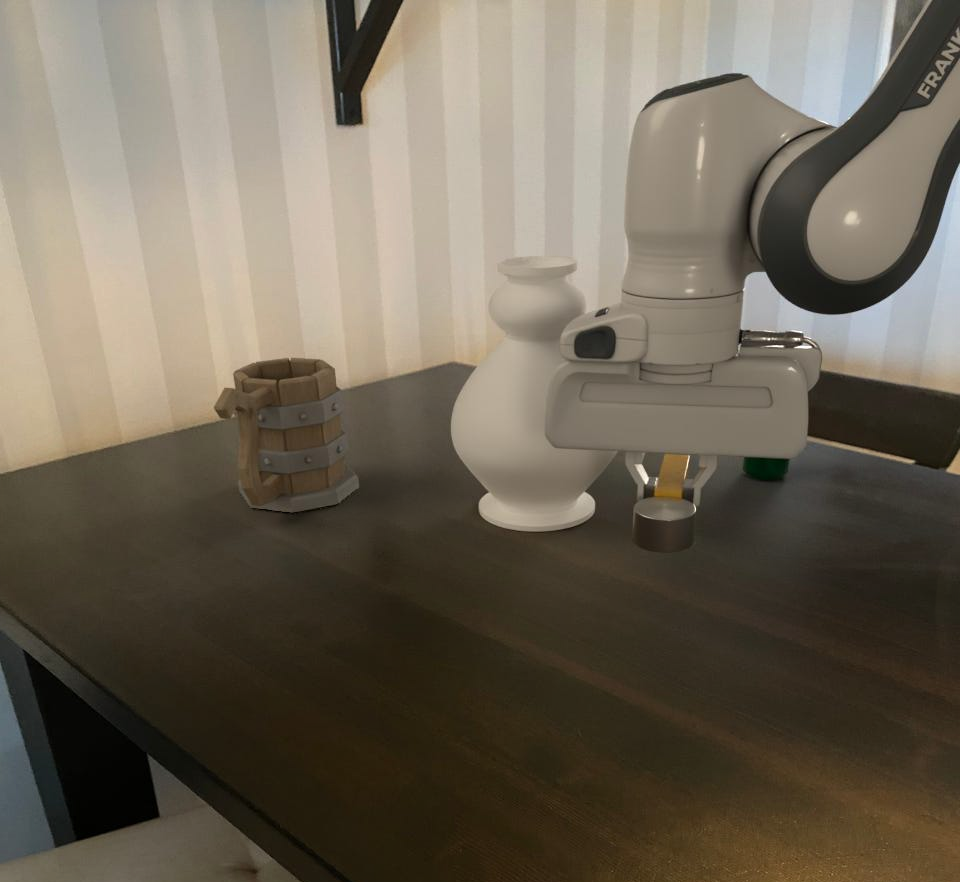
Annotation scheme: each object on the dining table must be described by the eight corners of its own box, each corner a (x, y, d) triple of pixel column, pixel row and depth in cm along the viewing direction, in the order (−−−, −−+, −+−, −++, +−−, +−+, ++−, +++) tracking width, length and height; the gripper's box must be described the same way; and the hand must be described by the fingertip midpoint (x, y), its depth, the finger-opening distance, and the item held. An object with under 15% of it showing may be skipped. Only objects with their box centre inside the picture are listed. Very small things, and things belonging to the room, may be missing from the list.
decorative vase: (640, 491, 104) (654, 251, 92) (587, 553, 90) (596, 281, 78) (495, 471, 111) (490, 246, 98) (425, 527, 97) (410, 272, 85)
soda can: (741, 480, 106) (754, 375, 100) (741, 465, 110) (754, 363, 104) (788, 483, 105) (803, 376, 99) (786, 468, 109) (801, 364, 103)
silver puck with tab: (647, 487, 84) (649, 452, 83) (702, 490, 83) (705, 455, 82) (628, 550, 73) (630, 512, 71) (691, 555, 72) (694, 516, 70)
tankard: (279, 468, 114) (261, 343, 106) (373, 478, 110) (361, 348, 103) (183, 531, 98) (154, 389, 90) (289, 545, 94) (268, 398, 87)
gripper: (823, 322, 70) (799, 495, 77) (555, 318, 75) (555, 482, 82) (828, 341, 65) (801, 525, 72) (539, 336, 69) (540, 509, 76)
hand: (668, 502), depth 77 cm, fingers closed on silver puck with tab, 2 cm apart
